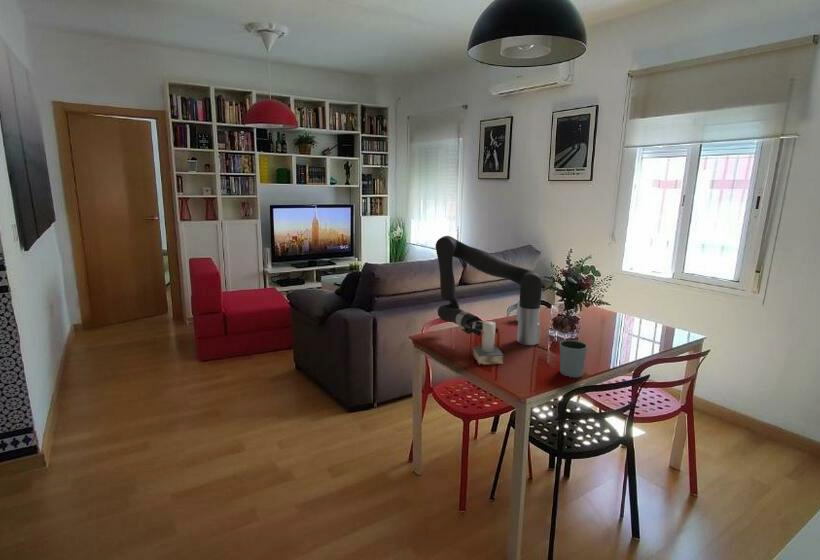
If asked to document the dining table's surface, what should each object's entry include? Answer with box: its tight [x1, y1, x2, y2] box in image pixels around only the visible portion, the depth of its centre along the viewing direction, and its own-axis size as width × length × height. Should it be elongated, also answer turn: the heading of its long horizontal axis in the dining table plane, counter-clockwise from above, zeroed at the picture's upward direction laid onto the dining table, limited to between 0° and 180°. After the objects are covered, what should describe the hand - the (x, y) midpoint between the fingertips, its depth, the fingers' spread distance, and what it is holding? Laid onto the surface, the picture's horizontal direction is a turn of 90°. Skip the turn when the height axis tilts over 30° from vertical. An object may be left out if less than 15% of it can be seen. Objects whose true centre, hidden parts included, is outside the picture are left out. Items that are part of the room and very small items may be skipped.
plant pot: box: [559, 339, 588, 379], centre depth 177 cm, size 10×10×12 cm
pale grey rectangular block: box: [481, 320, 497, 353], centre depth 189 cm, size 5×5×12 cm
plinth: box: [472, 345, 504, 366], centre depth 190 cm, size 10×10×4 cm
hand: (488, 332), depth 188 cm, fingers open, 8 cm apart
